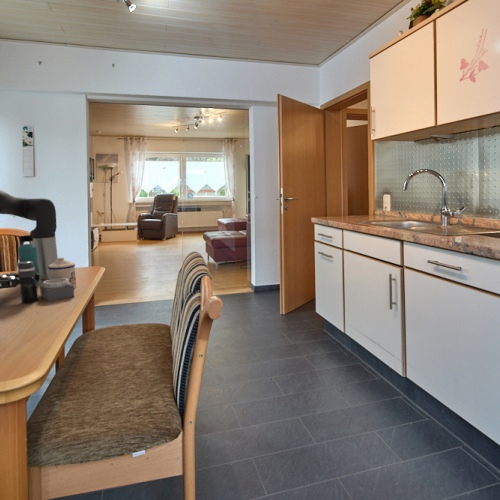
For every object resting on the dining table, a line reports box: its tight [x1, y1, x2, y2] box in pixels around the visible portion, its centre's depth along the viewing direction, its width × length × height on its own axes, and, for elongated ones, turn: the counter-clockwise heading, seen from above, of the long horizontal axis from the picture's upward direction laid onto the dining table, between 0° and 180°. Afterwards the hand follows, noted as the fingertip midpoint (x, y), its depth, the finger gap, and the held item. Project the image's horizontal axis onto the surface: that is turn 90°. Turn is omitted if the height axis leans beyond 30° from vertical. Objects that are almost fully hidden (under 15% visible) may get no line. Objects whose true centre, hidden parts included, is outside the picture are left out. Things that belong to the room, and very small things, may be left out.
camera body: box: [39, 278, 75, 302], centre depth 134 cm, size 10×8×6 cm
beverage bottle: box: [17, 234, 42, 286], centre depth 146 cm, size 6×7×20 cm
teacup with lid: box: [48, 257, 77, 289], centre depth 146 cm, size 12×9×12 cm
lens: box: [17, 261, 39, 304], centre depth 128 cm, size 5×5×13 cm
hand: (36, 278), depth 128 cm, fingers closed on lens, 4 cm apart
